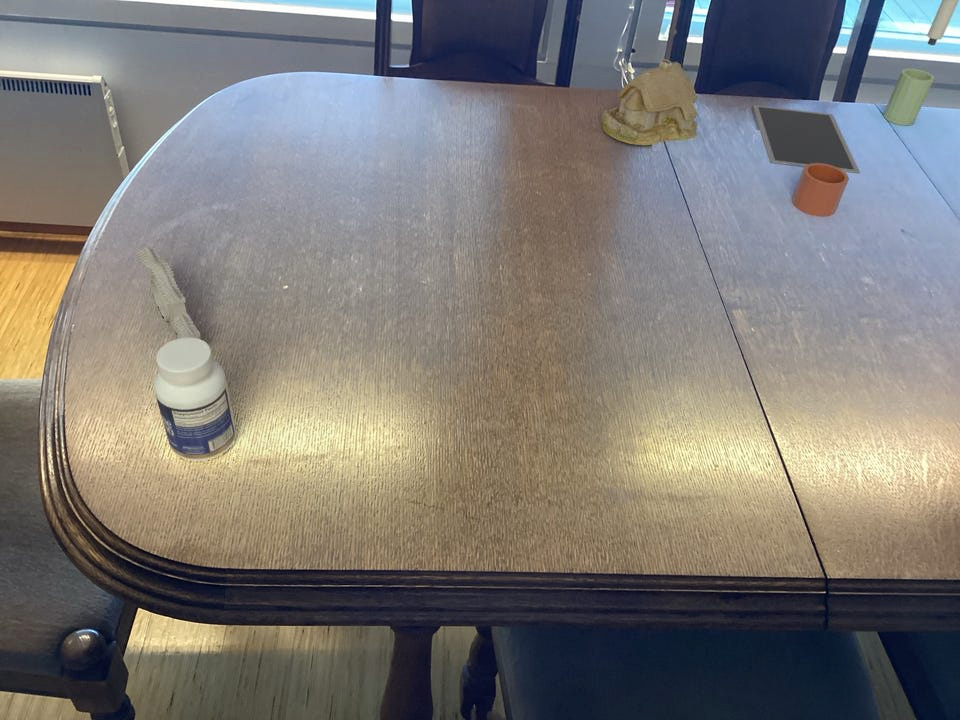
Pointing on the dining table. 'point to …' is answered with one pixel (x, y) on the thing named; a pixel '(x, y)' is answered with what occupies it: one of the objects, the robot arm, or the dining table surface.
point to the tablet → (802, 138)
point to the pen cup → (908, 96)
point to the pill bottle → (193, 400)
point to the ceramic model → (654, 107)
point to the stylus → (941, 20)
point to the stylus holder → (820, 189)
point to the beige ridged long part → (168, 293)
